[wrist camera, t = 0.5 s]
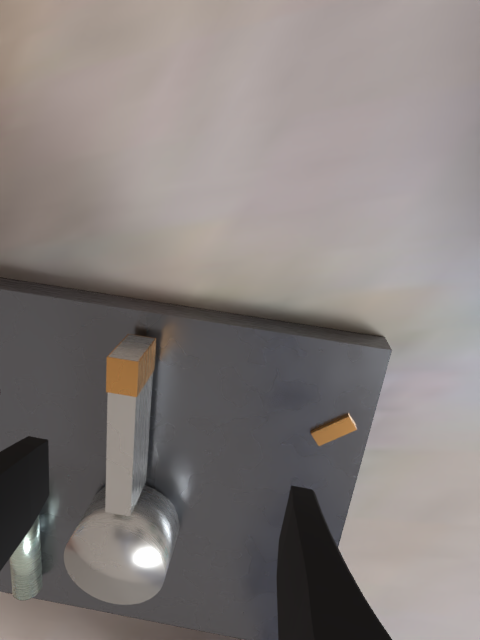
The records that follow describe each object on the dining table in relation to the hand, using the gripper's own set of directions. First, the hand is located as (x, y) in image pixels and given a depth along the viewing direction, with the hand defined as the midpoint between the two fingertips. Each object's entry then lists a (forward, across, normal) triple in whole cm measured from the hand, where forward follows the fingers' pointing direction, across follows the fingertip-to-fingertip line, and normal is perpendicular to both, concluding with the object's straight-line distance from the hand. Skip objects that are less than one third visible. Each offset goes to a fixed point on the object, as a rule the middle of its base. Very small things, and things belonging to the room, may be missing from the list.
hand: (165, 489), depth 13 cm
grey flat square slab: (+10, +2, +8) cm, 13 cm away
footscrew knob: (+8, +3, +6) cm, 10 cm away
